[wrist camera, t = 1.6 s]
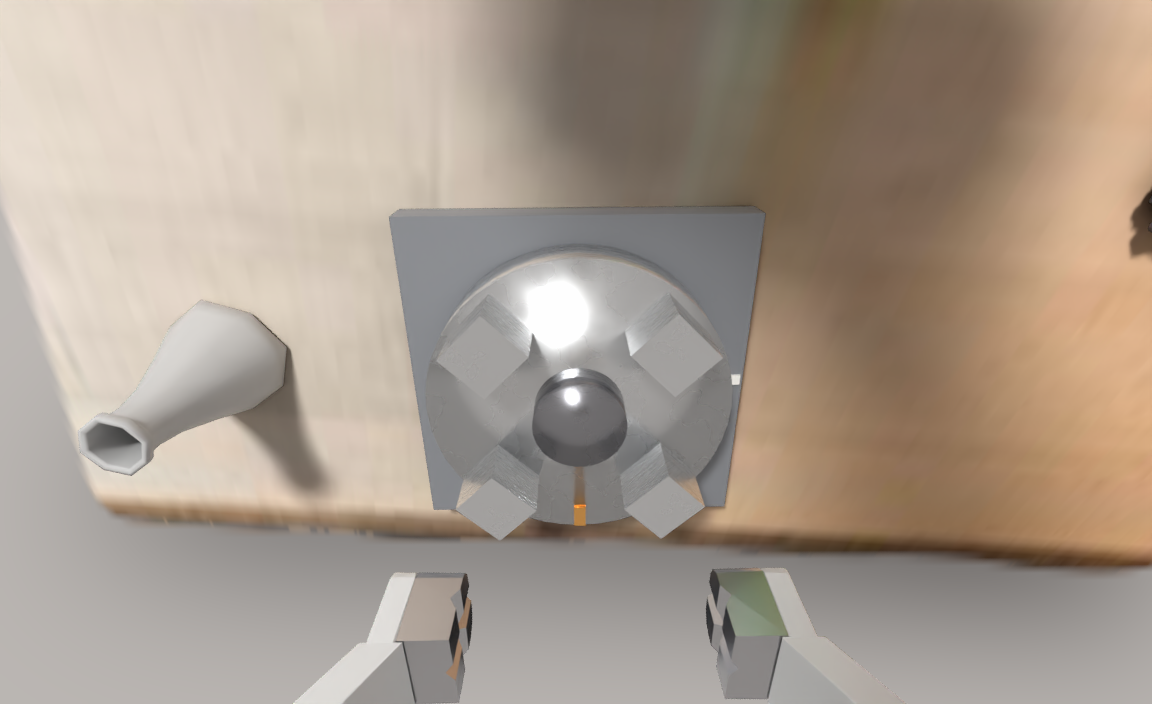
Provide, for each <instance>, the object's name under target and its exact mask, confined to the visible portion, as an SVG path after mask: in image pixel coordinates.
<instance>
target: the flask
mask: <svg viewBox="0 0 1152 704" xmlns="http://www.w3.org/2000/svg"><path fill="white" fill-rule="evenodd" d="M286 349H287V347H286V346H285V345H284V344H283V343H282V342H281V341H279V340H278V339H277V338H276V337H275V336H274V335H273V334H272V333H271V332H270V331H269V330H268V329H267V328H266V327H265V326H264V325H263V324H261V323H260V322H259V321H258V320H257V319H256V318H255V317H254V316H253V315H252V314H251V313H249V312H245V311H241V310H237V309H234V308H230V307H226V306H222V305H219V304H215V303H211V302H207V301H203V300H200V301H199V302H198V303H196V304H195V305H194V306H193V307H192V308H191V309H189V310H188V311H187V312H186V313H185V314H184V315H183V316H181V317H180V318H179V319H178V320H177V321H176V322H174V323H173V324H172V325H171V326H170V328H169V330H168V331H167V333H166V335H165V337H164V339H163V341H162V343H161V345H160V347H159V349H158V351H157V353H156V355H155V357H154V359H153V361H152V362H151V364H150V366H149V368H148V369H147V371H146V373H145V375H144V376H143V378H142V380H141V381H140V383H139V385H138V387H137V388H136V390H135V391H134V392H133V393H132V394H131V395H130V396H129V398H128V399H127V400H126V401H125V402H124V403H123V404H122V405H121V406H120V407H119V408H118V409H116V410H115V411H114V412H112V413H110V414H108V413H100V414H98V415H96V416H95V417H94V418H93V419H91V420H90V421H89V422H88V423H87V424H86V425H84V426H83V427H82V428H81V429H80V430H78V438H79V448H80V453H81V454H83V455H84V456H86V457H87V458H88V459H90V460H91V461H92V462H94V463H95V464H97V465H98V466H99V467H101V468H102V469H103V470H107V471H112V472H116V473H121V474H125V475H130V476H132V475H133V474H135V473H136V472H137V471H139V470H140V469H141V468H142V467H144V466H145V465H146V464H148V463H149V462H150V461H151V460H152V459H153V457H154V450H155V449H156V448H157V447H158V446H159V445H160V444H162V443H164V442H165V441H167V440H169V439H171V438H172V437H174V436H176V435H178V434H179V433H181V432H183V431H186V430H189V429H192V428H194V427H197V426H200V425H203V424H206V423H208V422H211V421H214V420H217V419H220V418H224V417H227V416H230V415H234V414H237V413H240V412H244V411H246V410H249V409H252V408H254V407H256V406H257V405H258V404H260V403H261V402H262V401H264V400H265V399H266V398H267V397H269V396H270V395H271V394H273V393H274V392H275V391H277V390H278V389H279V388H281V387H282V386H283V382H284V371H285V360H286Z"/></svg>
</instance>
